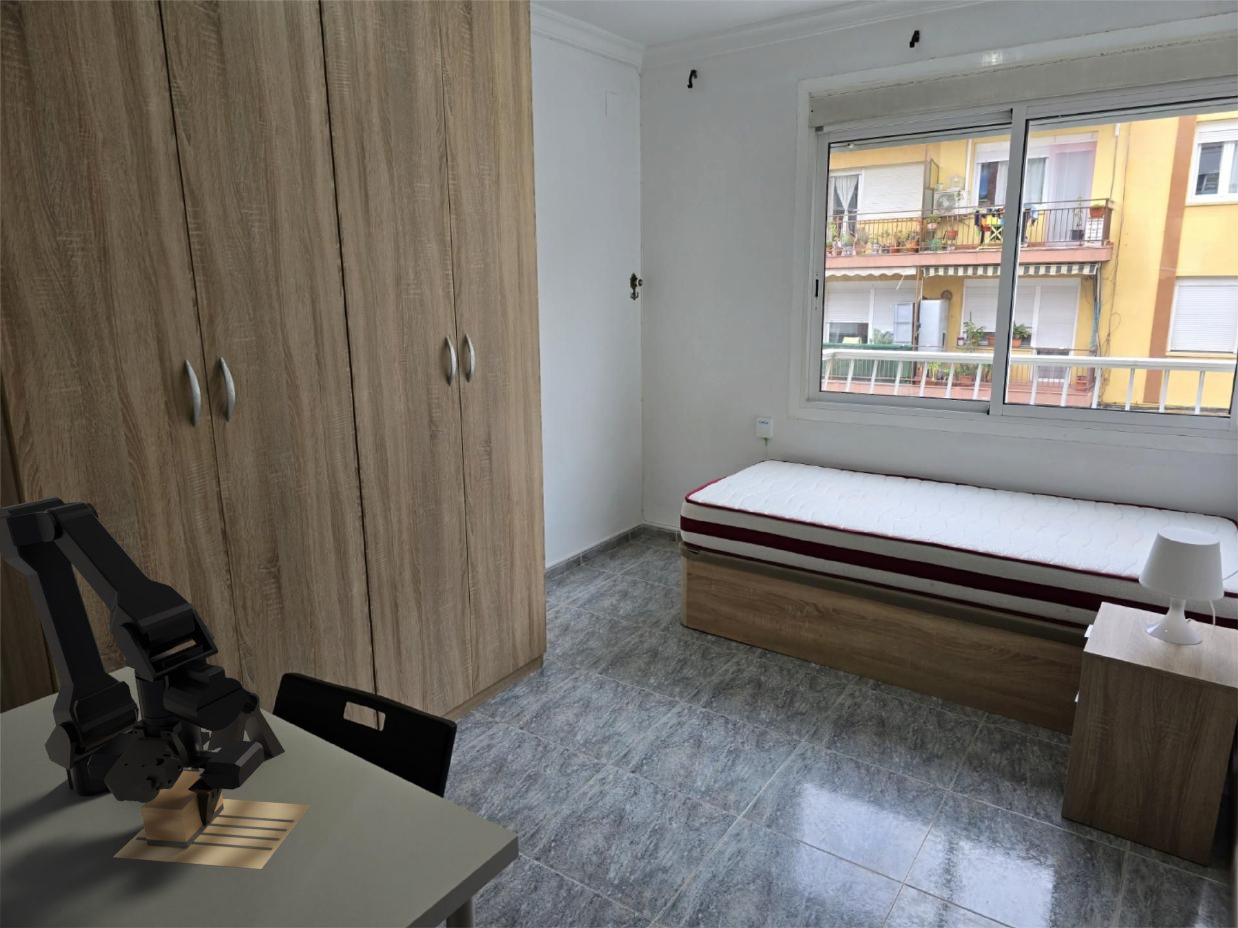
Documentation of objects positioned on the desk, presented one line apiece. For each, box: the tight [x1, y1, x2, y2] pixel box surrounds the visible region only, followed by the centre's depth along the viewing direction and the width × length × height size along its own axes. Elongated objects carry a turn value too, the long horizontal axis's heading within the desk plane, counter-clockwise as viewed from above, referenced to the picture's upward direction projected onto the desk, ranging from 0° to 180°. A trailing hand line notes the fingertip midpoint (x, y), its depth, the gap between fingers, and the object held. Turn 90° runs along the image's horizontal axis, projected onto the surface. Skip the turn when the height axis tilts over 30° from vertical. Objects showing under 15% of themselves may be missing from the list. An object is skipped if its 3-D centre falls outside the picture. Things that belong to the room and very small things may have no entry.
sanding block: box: [140, 770, 224, 848], centre depth 93 cm, size 5×7×5 cm
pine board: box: [113, 798, 311, 870], centre depth 93 cm, size 18×11×1 cm, turn 83°
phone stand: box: [206, 686, 286, 758], centre depth 106 cm, size 9×6×12 cm, turn 143°
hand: (186, 822), depth 93 cm, fingers closed on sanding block, 5 cm apart
